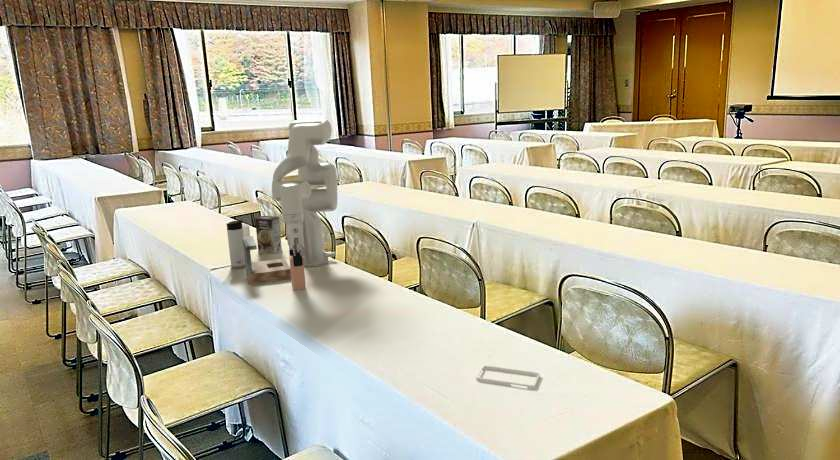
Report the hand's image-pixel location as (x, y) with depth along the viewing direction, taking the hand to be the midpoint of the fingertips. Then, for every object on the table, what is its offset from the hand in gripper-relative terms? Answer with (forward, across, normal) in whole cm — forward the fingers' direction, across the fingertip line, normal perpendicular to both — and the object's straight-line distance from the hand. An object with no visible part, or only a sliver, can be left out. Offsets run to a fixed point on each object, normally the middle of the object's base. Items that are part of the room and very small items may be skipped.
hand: (296, 262), depth 229 cm
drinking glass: (+9, +51, +16) cm, 54 cm away
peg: (+10, +1, 0) cm, 10 cm away
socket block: (+9, +21, +9) cm, 24 cm away
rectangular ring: (+13, -94, -38) cm, 102 cm away
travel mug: (+9, +39, +19) cm, 44 cm away
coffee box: (+8, +58, +4) cm, 59 cm away
